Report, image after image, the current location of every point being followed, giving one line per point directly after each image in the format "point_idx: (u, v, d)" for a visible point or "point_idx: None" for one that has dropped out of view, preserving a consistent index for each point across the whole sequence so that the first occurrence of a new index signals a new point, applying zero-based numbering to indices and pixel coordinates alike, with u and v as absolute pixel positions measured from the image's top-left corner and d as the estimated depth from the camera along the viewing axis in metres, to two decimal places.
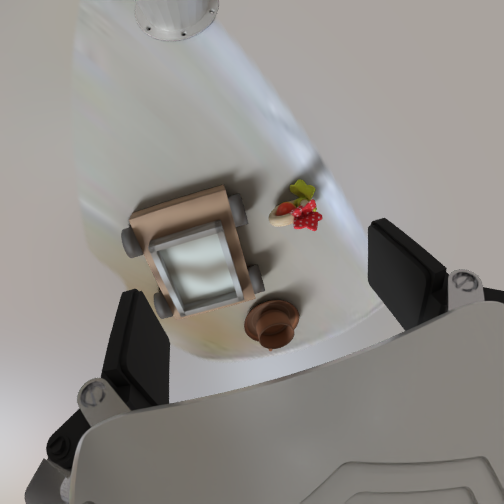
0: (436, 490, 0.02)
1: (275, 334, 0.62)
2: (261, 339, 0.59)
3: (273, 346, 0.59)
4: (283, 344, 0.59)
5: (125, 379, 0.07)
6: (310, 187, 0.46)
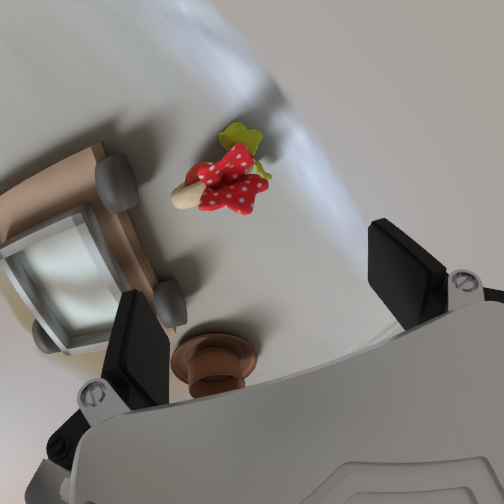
0: (436, 490, 0.02)
1: (221, 379, 0.39)
2: (197, 389, 0.36)
3: None
4: None
5: (125, 379, 0.07)
6: (253, 132, 0.23)
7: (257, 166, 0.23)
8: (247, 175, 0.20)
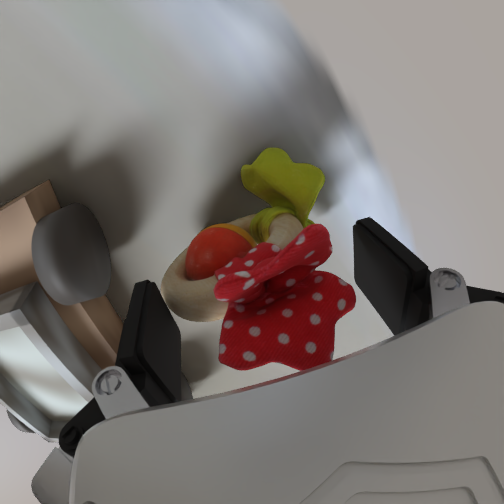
0: (436, 490, 0.02)
1: None
2: None
3: None
4: None
5: (141, 367, 0.07)
6: (307, 171, 0.13)
7: None
8: (312, 274, 0.10)
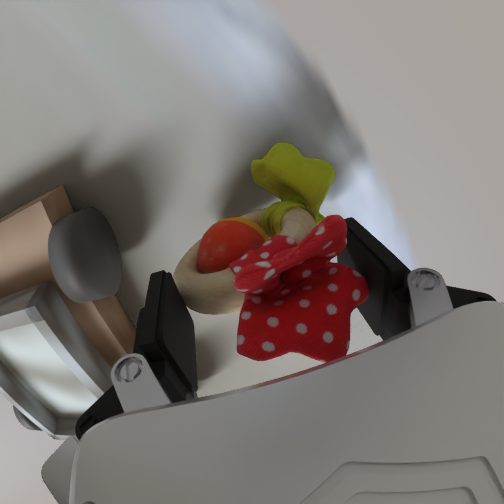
0: (436, 490, 0.02)
1: None
2: None
3: None
4: None
5: (161, 353, 0.08)
6: (317, 165, 0.13)
7: None
8: (326, 266, 0.10)
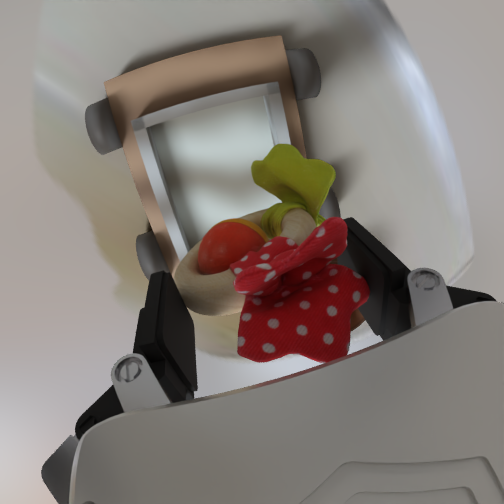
0: (436, 490, 0.02)
1: None
2: None
3: None
4: (351, 328, 0.35)
5: (161, 354, 0.08)
6: (318, 166, 0.13)
7: None
8: (326, 267, 0.10)
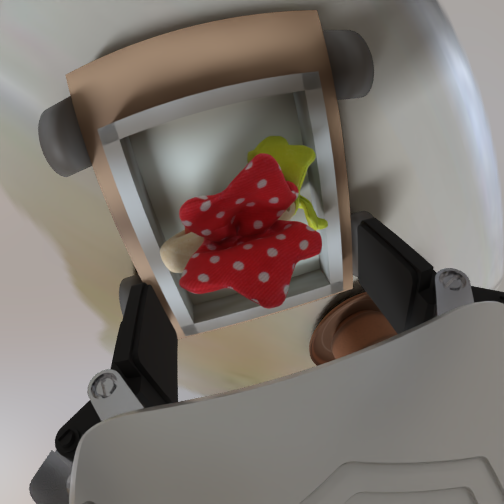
0: (436, 490, 0.02)
1: None
2: None
3: None
4: None
5: (136, 370, 0.07)
6: (299, 150, 0.14)
7: (305, 206, 0.14)
8: (283, 223, 0.11)
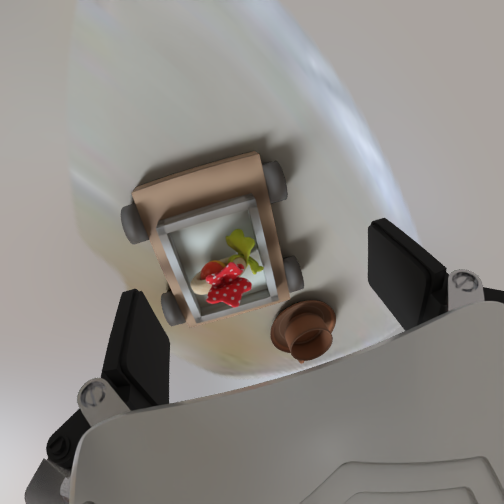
0: (436, 490, 0.02)
1: (307, 343, 0.50)
2: (291, 349, 0.47)
3: (306, 357, 0.47)
4: (318, 354, 0.47)
5: (125, 379, 0.07)
6: (248, 240, 0.34)
7: (250, 265, 0.34)
8: (239, 278, 0.31)
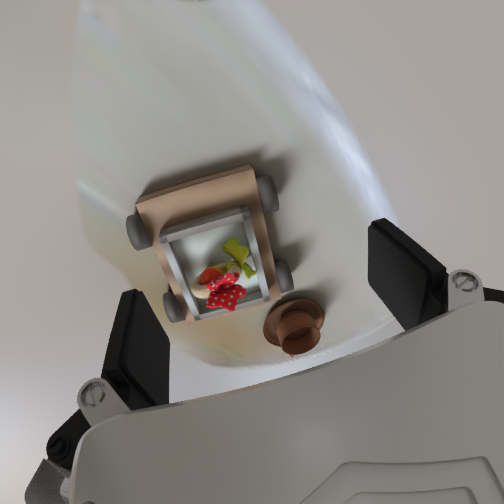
0: (436, 490, 0.02)
1: (297, 338, 0.55)
2: (282, 344, 0.52)
3: (296, 351, 0.52)
4: (307, 349, 0.52)
5: (125, 379, 0.07)
6: (242, 249, 0.38)
7: (244, 271, 0.38)
8: (235, 285, 0.35)
